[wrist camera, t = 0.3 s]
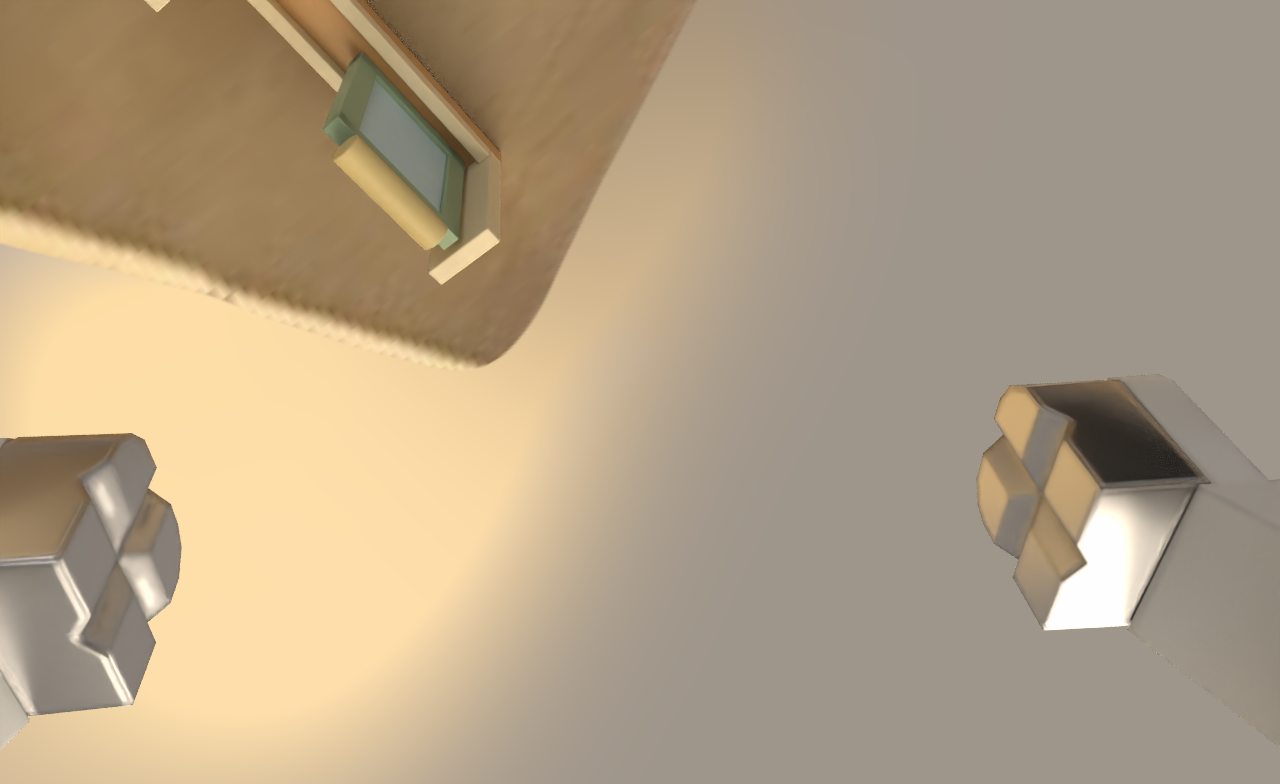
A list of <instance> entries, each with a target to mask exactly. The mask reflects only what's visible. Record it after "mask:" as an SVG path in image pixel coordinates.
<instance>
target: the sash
mask: <svg viewBox="0 0 1280 784" xmlns="http://www.w3.org/2000/svg"><path fill="white" fill-rule="evenodd" d="M323 130H324V131H325V132H326V133H327V134H328V135H329V136H330V137H331V138H332V139H333V140H334V141H335V142H336V143H337V144H338V145H339V146H340V147H339V148H338V149H337V150H336V151H335V153H334V155H333V157H332V159H333V161H334V162H335V163H336V164H337V165H338V166H339V167H340V168H341V169H342V170H343V171H344V172H345V173H346V174H347V175H348V176H349V177H350V178H351V179H352V180H353V181H354V182H356V183H357V184H358V185H359V186H360V187H361V188H362V189H363V190H364V191H365V192H366V193H367V194H368V195H369V196H370V197H371V198H372V199H373V200H374V201H375V202H376V203H377V204H378V205H379V206H380V207H381V208H382V209H383V210H384V211H385V212H386V213H387V214H388V215H389V216H390V217H391V218H392V219H393V220H394V221H395V222H397V223H398V224H399V225H400V226H401V227H402V228H403V229H404V230H405V231H406V232H407V233H408V234H409V235H410V236H411V237H412V238H413V239H414V240H415V241H416V242H417V243H418V244H419V245H420V246H421V247H422V248H423V249H425V250H429V249H431V248H433V247H435V246H436V245H437V244H439V245H440V246H441V247H442V248H443V249H444V250H445V249H446V248H447V247H449V246H450V245H451V244H453V243H454V242H455V241H457V240H458V239H459V227H460V215H461V203H462V191H463V180H464V169H465V161H464V160H463V159H462V158H461V157H460V156H459V155H458V154H457V153H456V152H455V151H454V149H453V148H452V147H451V146H450V145H449V144H448V143H447V142H446V141H445V140H444V139H443V138H442V136H441V135H440V134H439V133H438V132H437V131H436V130H435V129H434V128H433V127H432V126H431V125H430V123H429V122H428V121H427V120H426V119H425V118H424V117H423V116H422V115H421V114H420V113H419V112H418V110H417V109H416V108H415V107H414V106H413V105H412V104H411V103H410V102H409V101H408V100H407V99H406V97H405V96H404V95H403V94H402V93H401V92H400V91H399V90H398V89H397V88H396V87H395V86H394V84H393V83H392V82H391V81H390V80H389V79H388V78H387V77H386V76H385V75H384V74H383V73H382V72H381V70H380V69H379V68H378V67H377V66H376V65H375V64H374V63H373V62H372V61H371V60H370V59H369V57H368V56H367V55H366V54H365V53H364V52H361V53H360V54H359V55H357V56H356V57H355V58H354V59H353V60H352V61H350V63H349V65H348V68H347V70H346V73H345V75H344V78H343V80H342V83H341V85H340V88H339V90H338V93H337V95H336V98H335V100H334V103H333V105H332V108H331V110H330V113H329V115H328V118H327V120H326V123H325V125H324V128H323Z"/></svg>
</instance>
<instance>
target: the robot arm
mask: <svg viewBox="0 0 1280 784" xmlns="http://www.w3.org/2000/svg"><path fill="white" fill-rule="evenodd" d="M994 420H995V422H996V423H997V425H998V427H999V428H1000V430H1001V432H1002V433H1003V436H1002V437H1000V438H999V439H998V440H997V441H996V442H995V443H994V444H993V445H992V446H991V447H990V448H988V449H987V450H986V451H985V452H984V453H983V456H982V460H981V464H980V468H979V472H978V475H977V499H978V507H979V511H980V514H981V517H982V521H983V524H984V526H985V528H986V530H987V532H988V534H989V536H990V537H991V539H992V541H993V543H994V544H995V545H997V546H998V547H1000V548H1001V549H1003V550H1005V551H1006V552H1008V553H1009V554H1011V555H1012V556H1014V557H1015V558H1017V559H1018V562H1017V565H1016V568H1015V572H1014V575H1013V579H1014V580H1015V582H1016V584H1017V586H1018V587H1019V589H1020V591H1021V593H1022V594H1023V596H1024V598H1025V600H1026V601H1027V603H1028V605H1029V606H1030V608H1031V610H1032V612H1033V614H1034V615H1035V617H1036V619H1037V621H1038V622H1039V624H1040V626H1041V627H1042V629H1043V630H1057V629H1074V628H1093V627H1112V626H1129V627H1128V631H1130V632H1131V633H1132V634H1134V635H1135V636H1136V637H1137V638H1139V639H1140V640H1141V641H1143V642H1144V643H1145V644H1147V645H1148V646H1149V647H1150V648H1152V649H1153V650H1154V651H1156V652H1157V653H1158V654H1159V655H1161V656H1162V657H1163V658H1165V659H1166V660H1167V661H1168V662H1170V663H1171V664H1172V665H1174V666H1175V667H1176V668H1177V669H1179V670H1180V671H1181V672H1183V673H1184V674H1185V675H1186V676H1188V677H1189V678H1190V679H1192V680H1193V681H1194V682H1196V683H1197V684H1198V685H1199V686H1201V687H1202V688H1203V689H1205V690H1206V691H1207V692H1208V693H1210V694H1211V695H1212V696H1214V697H1215V698H1216V699H1218V700H1219V701H1220V702H1221V703H1223V704H1224V705H1225V706H1227V707H1228V708H1230V710H1232V711H1233V712H1234V713H1236V714H1237V715H1238V716H1239V717H1241V718H1242V719H1244V720H1245V721H1246V722H1247V723H1248V724H1250V725H1251V726H1252V727H1254V728H1255V729H1256V730H1258V731H1259V732H1260V733H1261V734H1263V735H1264V736H1265V737H1267V738H1268V739H1269V740H1271V741H1272V742H1273V743H1274V744H1276V745H1277V746H1278V747H1280V480H1268V479H1267V478H1266V477H1265V476H1264V475H1263V474H1262V473H1261V471H1260V470H1259V469H1258V468H1257V467H1256V466H1255V465H1254V464H1253V463H1252V462H1251V461H1250V460H1249V459H1248V458H1247V457H1246V456H1245V455H1244V454H1243V453H1242V452H1241V451H1240V450H1239V448H1238V447H1237V446H1236V445H1235V444H1234V443H1233V442H1232V441H1231V440H1230V439H1229V438H1228V437H1227V436H1226V435H1225V434H1224V433H1223V432H1222V431H1221V430H1220V429H1219V428H1218V427H1217V426H1216V425H1215V423H1214V422H1213V421H1212V420H1210V418H1209V417H1208V416H1207V415H1206V414H1205V413H1204V412H1203V411H1202V410H1201V409H1200V408H1199V407H1198V406H1197V405H1196V404H1195V403H1194V402H1193V401H1192V400H1191V398H1190V397H1189V396H1188V395H1187V394H1186V393H1185V392H1184V391H1183V390H1182V389H1181V388H1180V387H1179V386H1178V385H1177V384H1176V383H1175V382H1174V381H1173V380H1171V379H1169V378H1166V377H1164V376H1162V375H1159V374H1151V375H1140V376H1127V377H1115V378H1108V379H1107V380H1094V381H1077V382H1061V383H1044V384H1027V385H1011V386H1009V388H1008V389H1007V390H1006V392H1005V393H1004V394H1003V395H1002V397H1001V398H1000V401H999V404H998V407H997V410H996V413H995V416H994ZM156 468H157V467H156V465H155V463H154V460H153V458H152V456H151V454H150V451H149V449H148V447H147V445H146V442H145V440H144V439H142V438H140V437H138V436H136V435H134V434H132V433H128V434H100V435H70V436H44V437H43V436H41V437H18V438H16V439H11V438H0V750H1V749H2V748H3V747H4V746H5V745H6V744H7V743H8V742H9V741H10V740H11V739H12V738H13V737H14V736H15V735H16V734H17V733H18V732H19V731H20V730H21V729H22V728H23V727H24V726H25V725H26V724H27V723H29V718H28V716H34V715H43V714H52V713H60V712H70V711H80V710H88V709H99V708H108V707H117V706H126V705H133V703H134V700H135V697H136V695H137V692H138V689H139V687H140V684H141V681H142V679H143V676H144V673H145V671H146V668H147V665H148V662H149V660H150V657H151V655H152V652H153V649H154V646H155V644H156V641H155V639H154V637H153V635H152V632H151V630H150V628H149V625H148V623H147V622H148V621H150V620H151V619H152V618H153V617H154V616H155V615H156V614H158V613H159V612H160V611H161V610H163V609H164V608H165V607H166V606H167V605H168V604H170V602H171V600H172V597H173V594H174V591H175V588H176V585H177V582H178V579H179V571H180V559H181V542H180V535H179V528H178V523H177V520H176V518H175V515H174V512H173V509H172V507H171V504H170V503H168V502H167V501H165V500H164V499H163V498H161V497H160V496H158V495H157V494H156V493H154V492H153V491H151V490H150V489H148V487H149V484H150V482H151V480H152V477H153V475H154V473H155V470H156Z"/></svg>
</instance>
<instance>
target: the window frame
mask: <svg viewBox="0 0 1280 784" xmlns="http://www.w3.org/2000/svg"><path fill="white" fill-rule="evenodd" d="M145 1H146V2H147V3H148V4H149V5H150V6H151V7H152V8H153V9H154V10H155V11H156V12H159V11H160V10H161V9H162V8H163V7H164V6H165V5H166V4H167V3H168V2H169V1H170V0H145ZM248 1H249V2H250V4H251V5H252V6H253V7H254V8H255V9H256V10H257V11H258V12H259V13H260V14H261V15H262V16H263V17H264V18H265V19H266V20H267V21H268V22H269V23H270V24H271V25H272V26H273V27H274V28H275V29H276V30H277V31H278V32H279V33H280V34H281V35H282V36H283V38H284V39H285V40H286V41H287V42H288V43H289V44H290V45H291V46H292V47H293V48H294V49H295V50H296V51H297V52H298V53H299V54H300V55H301V56H302V57H303V58H304V59H305V60H306V61H307V62H308V63H309V64H310V65H311V66H312V67H313V68H314V69H315V70H316V72H317V73H318V74H319V75H320V76H321V77H322V78H323V79H324V80H325V81H326V82H327V83H328V84H329V85H330V86H331V87H332V88H333V89H334V90H335V91H336V92H337V93H338V90H339V88H340V85H341V83H342V80H343V78H344V75H345V73H346V70H347V68H348V65H349V63H350V61H352V60H353V59H354V58H355V57H356V56H357V55H359V54H360V53H361V52H364V53H365V54H366V55H367V56H368V57H369V59H370V60H371V61H372V62H373V63H374V64H375V65H376V66H377V67H378V68H379V69H380V70H381V72H382V73H383V74H384V75H385V76H386V77H387V78H388V79H389V80H390V81H391V82H392V83H393V84H394V86H395V87H396V88H397V89H398V90H399V91H400V92H401V93H402V94H403V95H404V96H405V97H406V99H407V100H408V101H409V102H410V103H411V104H412V105H413V106H414V107H415V108H416V109H417V110H418V112H419V113H420V114H421V115H422V116H423V117H424V118H425V119H426V120H427V121H428V122H429V123H430V125H431V126H432V127H433V128H434V129H435V130H436V131H437V132H438V133H439V134H440V135H441V136H442V138H443V139H444V140H445V141H446V142H447V143H448V144H449V145H450V146H451V147H452V148H453V149H454V151H455V152H456V153H457V154H458V155H459V156H460V157H461V158H462V159H463V160H464V161H465V169H464V180H463V191H462V203H461V215H460V227H459V239H458V240H457V241H455V242H454V243H453V244H451V245H450V246H449V247H447V248H446V249H445V250H444V249H443V248H442V247H441V246H440V245H439V244H437V245H436V246H435V247H433V248H431V255H430V263H429V270H428V272H429V274H430V275H431V276H432V277H433V278H434V279H436V280H437V281H438V282H439V283H440V284H443V283H445V282H446V281H447V280H449V279H450V278H451V277H453V276H454V275H455V274H457V273H458V272H459V271H461V270H462V269H463V268H465V267H466V266H468V265H469V264H470V263H472V262H473V261H474V260H476V259H477V258H478V257H480V256H481V255H482V254H484V253H485V252H486V251H488V250H489V249H490V248H492V247H493V246H495V245H496V244H497V243H499V242H500V198H501V153H500V152H499V151H498V149H497V148H496V147H495V146H494V145H493V144H492V143H491V142H490V140H489V139H488V138H487V137H486V136H485V135H484V134H483V133H482V131H481V130H480V129H479V128H478V127H477V126H476V125H475V124H474V123H473V121H472V120H471V119H470V118H469V117H468V116H467V115H466V114H465V112H464V111H463V110H462V109H461V108H460V107H459V106H458V105H457V103H456V102H455V101H454V100H453V99H452V98H451V97H450V96H449V94H448V93H447V92H446V91H445V90H444V89H443V88H442V87H441V85H440V84H439V83H438V82H437V81H436V80H435V79H434V78H433V76H432V75H431V74H430V73H429V72H428V71H427V70H426V69H425V67H424V66H423V65H422V64H421V63H420V62H419V61H418V60H417V58H416V57H415V56H414V55H413V54H412V53H411V52H410V51H409V49H408V48H407V47H406V46H405V45H404V44H403V43H402V42H401V40H400V39H399V38H398V37H397V36H396V35H395V34H394V33H393V32H392V30H391V29H390V28H389V27H388V26H387V25H386V24H385V23H384V21H383V20H382V19H381V18H380V17H379V16H378V15H377V14H376V12H375V11H374V10H373V9H372V8H371V7H370V6H369V5H368V3H367V2H366V1H365V0H248Z"/></svg>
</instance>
